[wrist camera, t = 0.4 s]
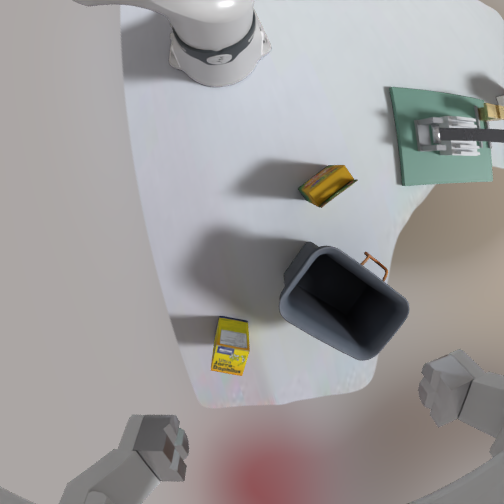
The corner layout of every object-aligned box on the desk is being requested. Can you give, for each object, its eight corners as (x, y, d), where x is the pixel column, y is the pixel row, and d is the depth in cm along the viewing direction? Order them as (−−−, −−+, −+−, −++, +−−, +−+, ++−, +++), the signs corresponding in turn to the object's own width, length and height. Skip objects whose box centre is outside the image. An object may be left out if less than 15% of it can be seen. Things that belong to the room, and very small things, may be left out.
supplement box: (214, 339, 60) (209, 371, 50) (219, 315, 59) (215, 344, 48) (242, 344, 61) (242, 376, 50) (248, 320, 59) (249, 351, 49)
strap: (430, 125, 44) (431, 124, 43) (517, 128, 34) (519, 127, 32) (433, 143, 45) (433, 143, 44) (519, 147, 35) (521, 146, 33)
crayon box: (327, 164, 51) (349, 163, 40) (336, 177, 52) (360, 180, 41) (296, 188, 52) (310, 193, 41) (305, 201, 53) (322, 209, 42)
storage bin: (263, 279, 57) (269, 313, 43) (309, 211, 54) (332, 226, 40) (344, 327, 61) (368, 365, 47) (388, 269, 57) (423, 296, 44)
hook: (465, 106, 47) (487, 102, 39) (482, 109, 47) (504, 106, 39) (467, 119, 47) (490, 116, 40) (484, 121, 47) (506, 119, 40)
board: (389, 88, 47) (407, 79, 40) (480, 100, 47) (500, 97, 40) (402, 185, 53) (422, 188, 45) (489, 180, 53) (510, 184, 45)
